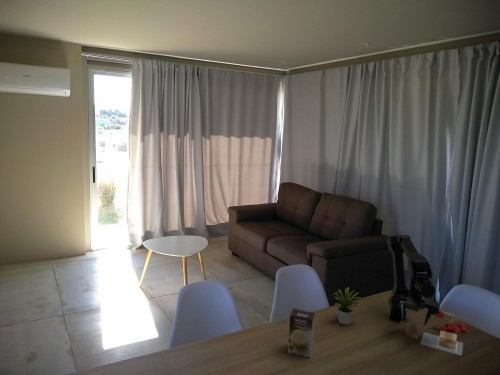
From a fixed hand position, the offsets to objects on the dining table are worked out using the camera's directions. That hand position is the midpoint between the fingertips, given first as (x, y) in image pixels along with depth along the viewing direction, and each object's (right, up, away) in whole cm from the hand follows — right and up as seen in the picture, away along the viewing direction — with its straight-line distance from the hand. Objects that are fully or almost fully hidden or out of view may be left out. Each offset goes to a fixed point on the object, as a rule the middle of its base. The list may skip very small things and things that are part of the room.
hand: (413, 321), depth 162 cm
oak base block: (+11, -7, -6) cm, 15 cm away
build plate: (+10, -8, -5) cm, 13 cm away
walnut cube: (0, -7, +1) cm, 7 cm away
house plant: (-27, -5, +11) cm, 30 cm away
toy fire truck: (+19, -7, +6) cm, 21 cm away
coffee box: (-50, -8, -12) cm, 52 cm away
